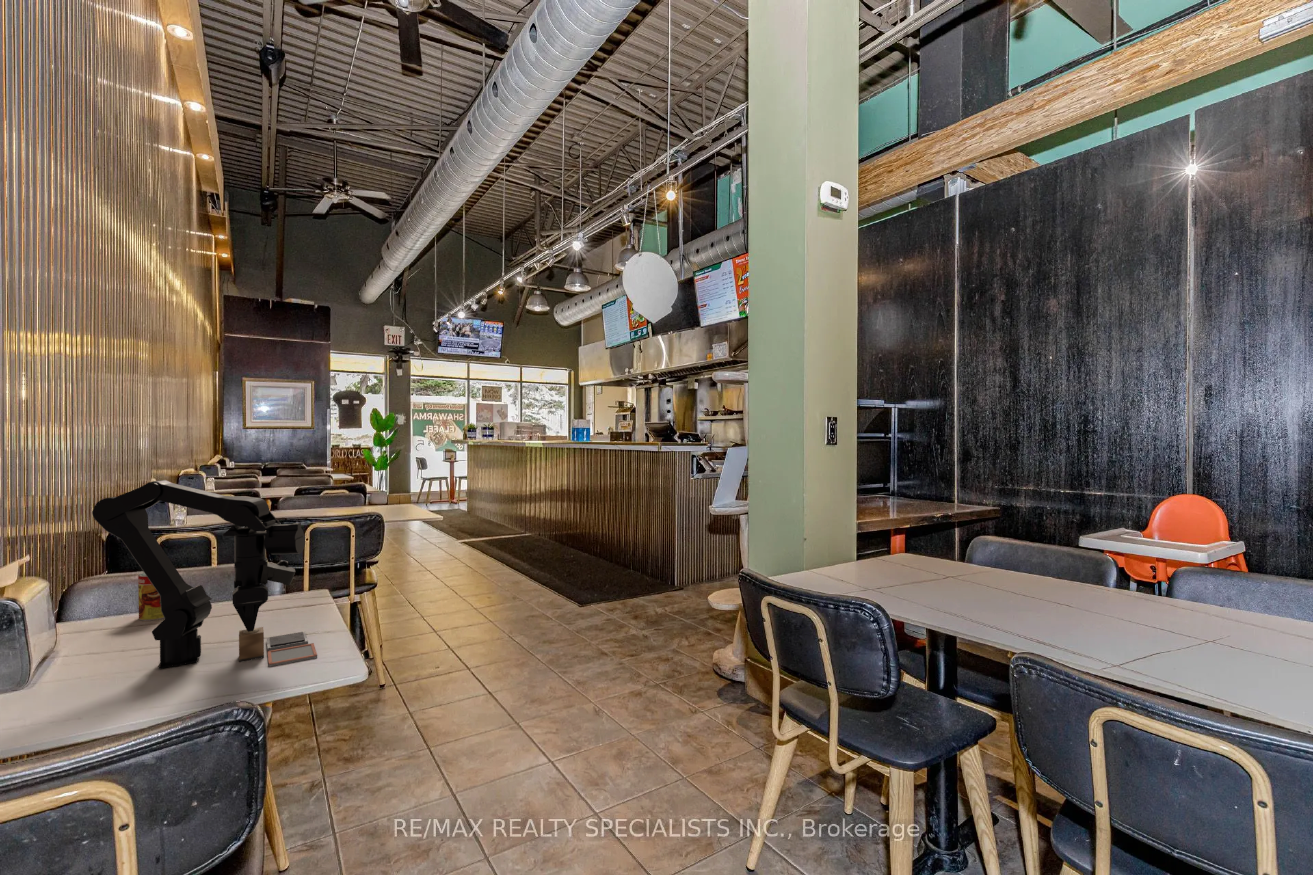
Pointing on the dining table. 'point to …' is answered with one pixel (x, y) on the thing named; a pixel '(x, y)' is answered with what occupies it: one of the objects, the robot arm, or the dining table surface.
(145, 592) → the canned food
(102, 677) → the dining table surface
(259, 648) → the stamp
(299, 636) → the pad
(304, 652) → the tile
